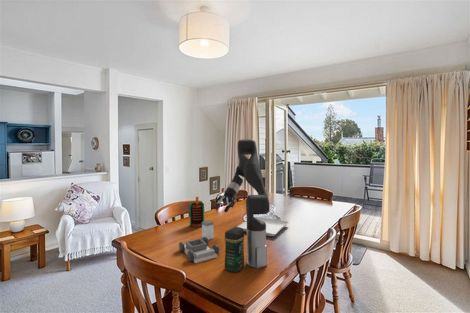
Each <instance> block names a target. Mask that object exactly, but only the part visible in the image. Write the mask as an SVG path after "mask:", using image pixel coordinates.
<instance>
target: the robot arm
mask: <svg viewBox="0 0 470 313" xmlns="http://www.w3.org/2000/svg"><path fill="white" fill-rule="evenodd" d="M257 149H258V148H257V143H256V141H255V139H253V138H249V139H248V138H247V139H245V138H244V139H239V140H238V141H237V156H238V165H237V167H236V169H235V173H234V176H233V178H232V180H231V181H230V182H229V184H228V185H227V187H226V189H225V191H224V192H223V195H221V194H220V195H218V197H217V199H216V200H215V203H216V205H215V206H214V210H215V211H218V210H219V208H220V206H221V205H224V204H226V206H225V208H224V210H223V212H224V213H227V212H228V211H229V210H230V209H231V208H234V206H235V203H236V202H237V199H236V196H237V194H238V192H239V191H240V188H241V186H242V185H243V182H244V180H243V178H244V179H245V181H246V182H247V183H248V184H249V186H251V187H252V188H253V189H254V190H255V191H256V193H257V194H248V195H247V196H246V198H245V210H246V212H245V213H246V221H247V232H246V264H247V265H248V266H249V267H252V268H255V269H261V268H263V267H266V266H268V245H267V236H266V223H265V222H264V221H262V220H259V219H257V218H255V217H256V216H255V215H258V216H259V215H267V214H268V213H269V212H270V209H271V208H270V200H269V196H268V193H267V191H266V186H265V183H264V179H263V173H262V168H261V164H260V161H259V155H258V150H257ZM249 155H250V157H248V156H249Z"/></svg>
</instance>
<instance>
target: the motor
mask: <svg viewBox="0 0 470 313" xmlns="http://www.w3.org/2000/svg"><path fill="white" fill-rule="evenodd" d="M204 221H206V220H205V203H204V202H202V201H199V196H195V201H194V202H190V203H189V227H192V228H202V227H201V226H202V222H204Z"/></svg>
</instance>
